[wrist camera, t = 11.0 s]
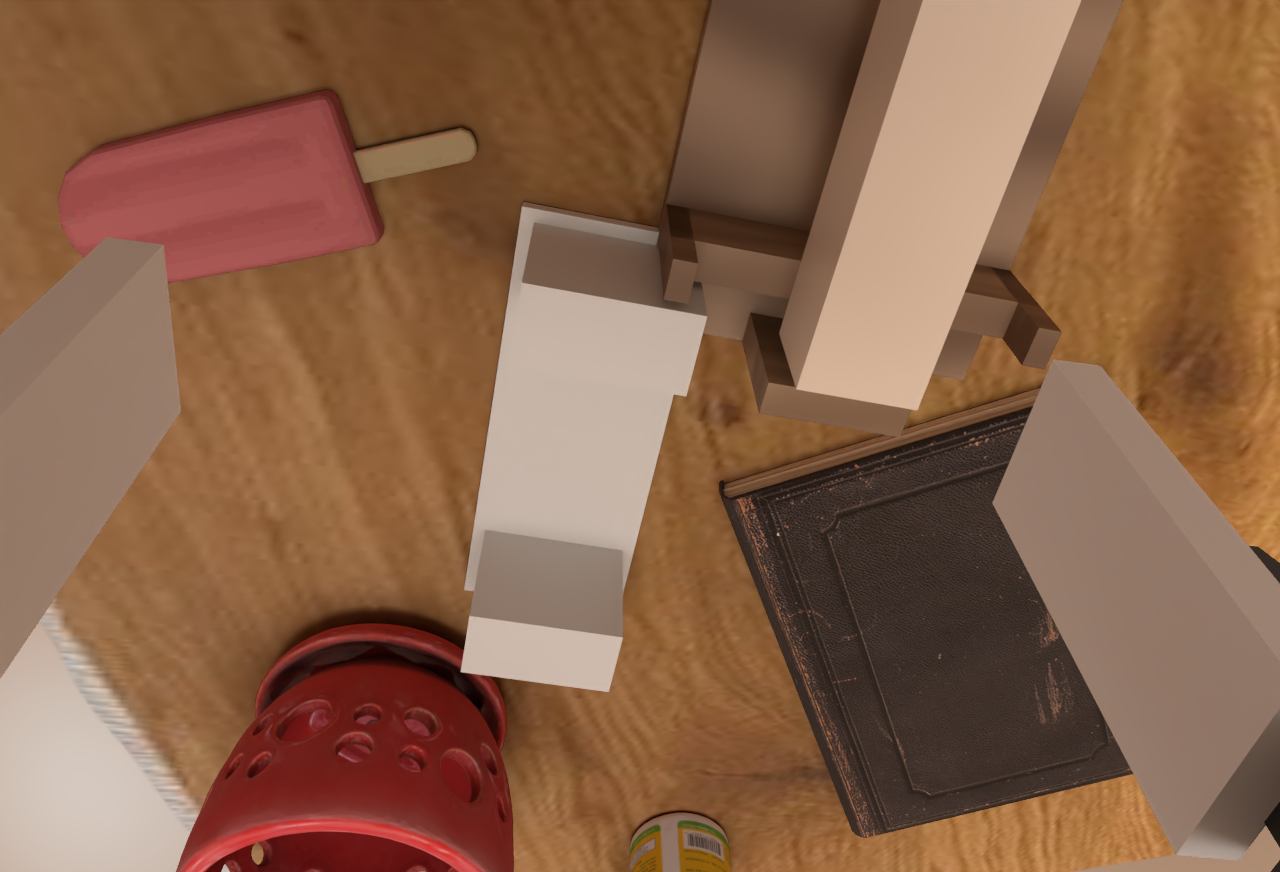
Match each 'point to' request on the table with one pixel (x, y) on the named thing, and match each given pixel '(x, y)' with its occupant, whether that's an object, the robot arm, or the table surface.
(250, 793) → the plant pot
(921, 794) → the hardcover book
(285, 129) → the popsicle
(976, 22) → the beige rectangular bar
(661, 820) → the supplement bottle
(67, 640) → the table surface
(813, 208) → the rack
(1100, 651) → the robot arm
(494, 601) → the stand
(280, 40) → the table surface
